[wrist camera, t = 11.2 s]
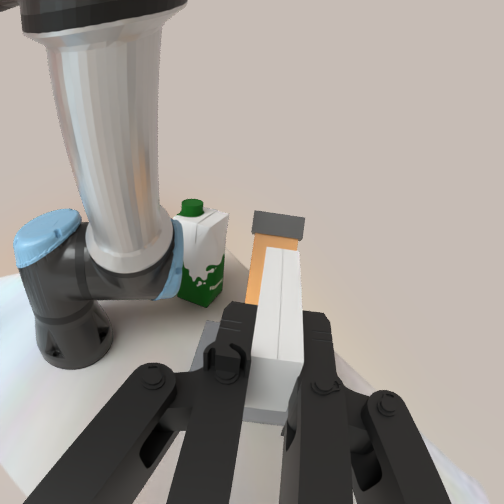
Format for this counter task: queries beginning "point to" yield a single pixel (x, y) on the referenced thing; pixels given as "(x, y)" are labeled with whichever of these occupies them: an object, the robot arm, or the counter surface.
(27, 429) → the counter surface
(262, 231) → the lever
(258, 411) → the switch box
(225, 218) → the milk carton
